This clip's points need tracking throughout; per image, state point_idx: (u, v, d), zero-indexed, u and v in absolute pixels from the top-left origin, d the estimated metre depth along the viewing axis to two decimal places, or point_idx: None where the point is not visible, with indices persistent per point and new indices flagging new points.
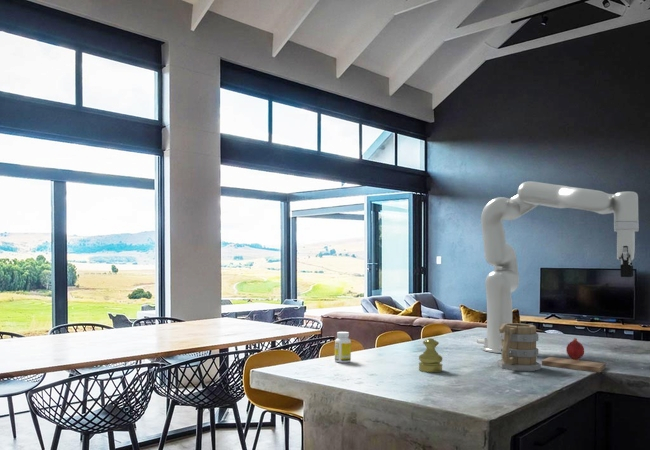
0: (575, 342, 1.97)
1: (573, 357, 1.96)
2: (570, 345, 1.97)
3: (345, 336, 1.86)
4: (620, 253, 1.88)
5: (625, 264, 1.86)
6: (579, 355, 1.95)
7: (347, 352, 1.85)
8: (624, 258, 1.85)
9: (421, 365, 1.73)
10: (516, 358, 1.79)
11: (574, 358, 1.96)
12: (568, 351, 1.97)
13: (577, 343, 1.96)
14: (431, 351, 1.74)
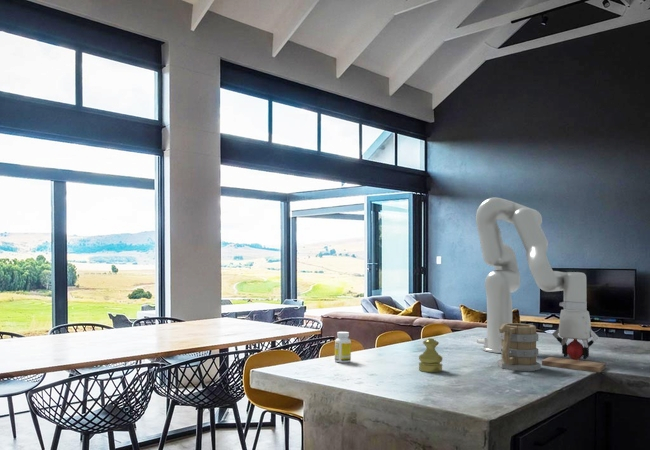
0: (575, 342, 1.97)
1: (573, 357, 1.96)
2: (570, 345, 1.97)
3: (345, 336, 1.86)
4: None
5: (588, 347, 1.95)
6: (579, 355, 1.95)
7: (347, 352, 1.85)
8: None
9: (421, 365, 1.73)
10: (516, 358, 1.79)
11: (574, 358, 1.96)
12: (568, 351, 1.97)
13: (577, 343, 1.96)
14: (431, 351, 1.74)
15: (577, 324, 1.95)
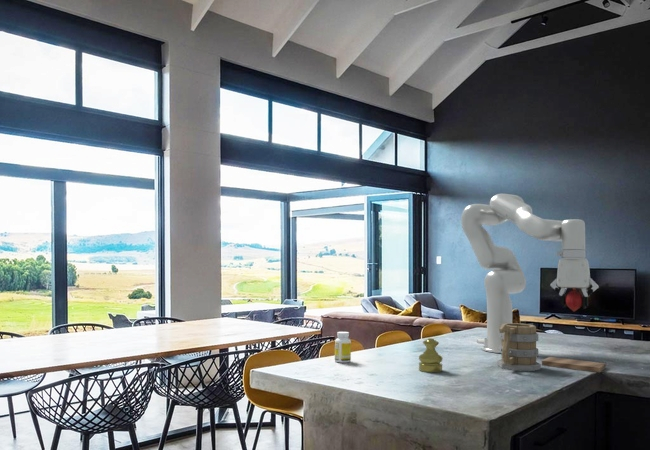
0: (574, 291, 1.89)
1: (572, 307, 1.88)
2: (569, 295, 1.89)
3: (345, 336, 1.86)
4: None
5: (587, 296, 1.88)
6: (578, 305, 1.87)
7: (347, 352, 1.85)
8: (593, 291, 1.86)
9: (421, 365, 1.73)
10: (516, 358, 1.79)
11: (573, 308, 1.89)
12: (567, 301, 1.89)
13: (576, 292, 1.89)
14: (431, 351, 1.74)
15: (576, 273, 1.87)
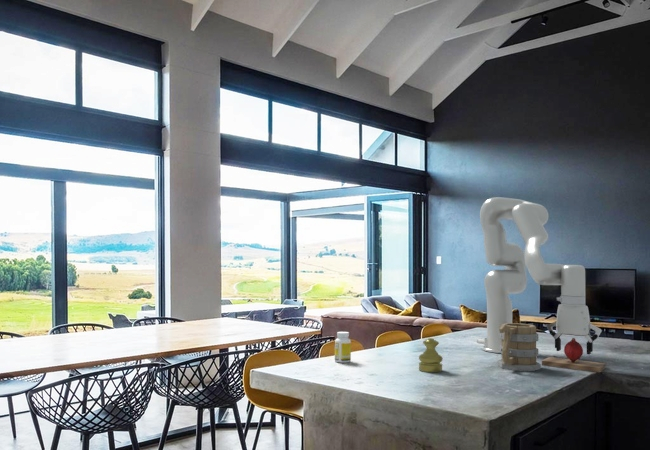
0: (573, 342, 1.86)
1: (571, 358, 1.85)
2: (568, 345, 1.86)
3: (345, 336, 1.86)
4: (588, 330, 1.83)
5: (592, 341, 1.84)
6: (577, 356, 1.84)
7: (347, 352, 1.85)
8: None
9: (421, 365, 1.73)
10: (516, 358, 1.79)
11: (572, 359, 1.86)
12: (566, 351, 1.86)
13: (575, 343, 1.85)
14: (431, 351, 1.74)
15: (575, 320, 1.84)
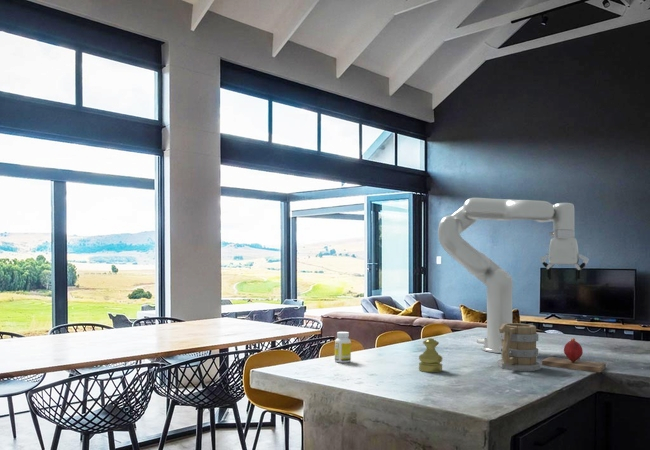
0: (573, 342, 1.86)
1: (571, 358, 1.85)
2: (568, 345, 1.86)
3: (345, 336, 1.86)
4: (577, 259, 2.07)
5: (581, 269, 2.07)
6: (577, 356, 1.84)
7: (347, 352, 1.85)
8: (585, 264, 2.06)
9: (421, 365, 1.73)
10: (516, 358, 1.79)
11: (572, 359, 1.86)
12: (565, 351, 1.86)
13: (575, 343, 1.86)
14: (431, 351, 1.74)
15: (566, 251, 2.08)
